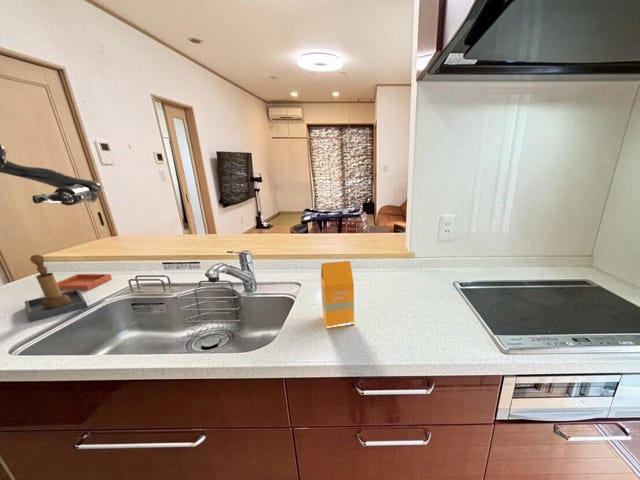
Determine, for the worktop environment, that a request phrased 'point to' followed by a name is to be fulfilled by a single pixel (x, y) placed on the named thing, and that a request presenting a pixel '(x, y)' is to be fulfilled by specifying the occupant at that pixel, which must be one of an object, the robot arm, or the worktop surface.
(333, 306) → the orange juice
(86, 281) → the terracotta tray
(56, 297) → the mortar and pestle
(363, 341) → the worktop surface
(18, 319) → the worktop surface
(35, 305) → the grey tray
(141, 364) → the worktop surface
